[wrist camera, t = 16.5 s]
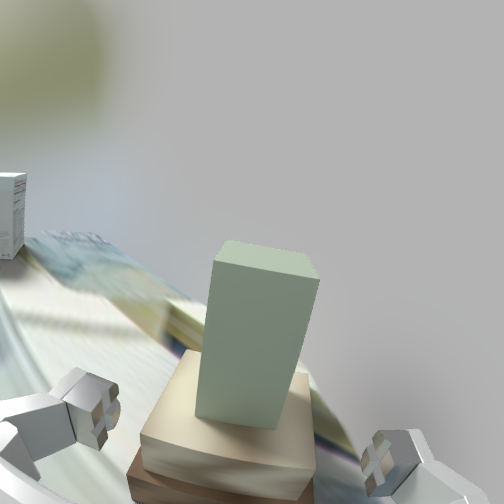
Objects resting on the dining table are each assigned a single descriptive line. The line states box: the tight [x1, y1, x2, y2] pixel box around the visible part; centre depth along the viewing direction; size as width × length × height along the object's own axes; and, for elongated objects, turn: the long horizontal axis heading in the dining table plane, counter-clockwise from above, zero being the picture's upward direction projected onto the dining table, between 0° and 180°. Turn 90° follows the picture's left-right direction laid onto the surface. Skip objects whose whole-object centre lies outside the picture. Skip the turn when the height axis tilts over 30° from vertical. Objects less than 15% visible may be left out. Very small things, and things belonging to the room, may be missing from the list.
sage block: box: [194, 240, 320, 430], centre depth 18 cm, size 5×5×10 cm
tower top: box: [140, 349, 317, 501], centre depth 19 cm, size 10×10×4 cm
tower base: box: [126, 447, 314, 504], centre depth 20 cm, size 12×12×4 cm
